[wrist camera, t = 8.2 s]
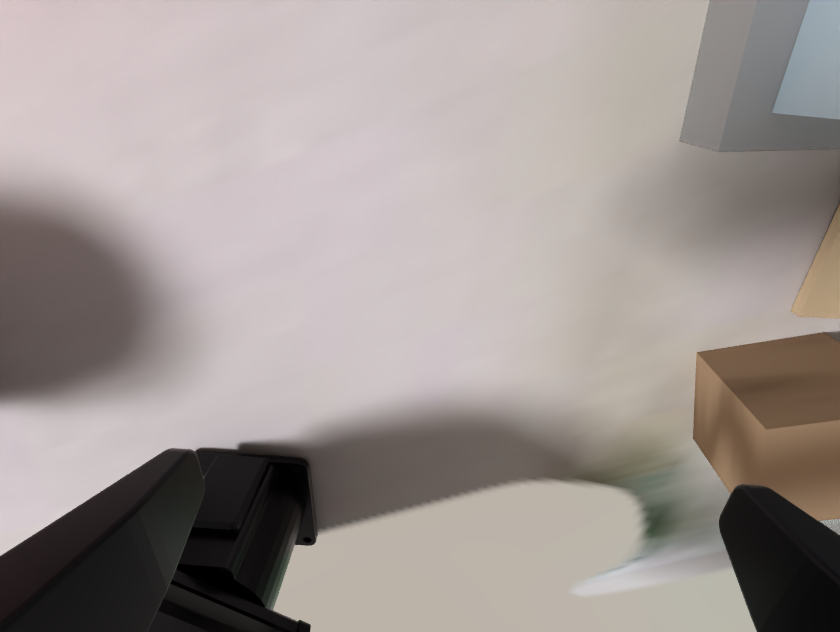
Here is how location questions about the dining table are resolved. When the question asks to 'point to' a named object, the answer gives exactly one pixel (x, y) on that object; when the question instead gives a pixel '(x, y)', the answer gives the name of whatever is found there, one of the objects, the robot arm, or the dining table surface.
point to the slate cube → (814, 65)
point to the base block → (749, 81)
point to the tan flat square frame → (823, 278)
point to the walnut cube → (774, 418)
